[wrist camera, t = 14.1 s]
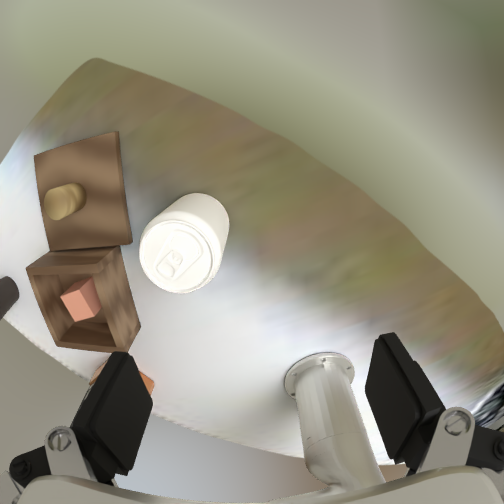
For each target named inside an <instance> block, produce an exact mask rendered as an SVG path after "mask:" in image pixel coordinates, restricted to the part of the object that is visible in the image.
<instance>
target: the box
mask: <svg viewBox="0 0 504 504" xmlns="http://www.w3.org/2000/svg"><path fill="white" fill-rule="evenodd" d="M26 271H27V274H28V277H29V280H30V283H31V286H32V289H33V292H34V294H35V297H36V300H37V302H38V305H39V307H40V310H41V312H42V315H43V317H44V320H45V322H46V324H47V327H48V329H49V331H50V333H51V335H52V338H53V340H54V342H55V344H56V346H58V347H65V348H72V349H79V350H88V351H97V352H107V353H113V352H114V351H121V352H128V350H129V348H130V346H131V345H132V343H133V341H134V339H135V337H136V335H137V333H138V331H139V330H140V328H141V325H140V322H139V318H138V315H137V312H136V308H135V305H134V301H133V298H132V294H131V290H130V287H129V283H128V279H127V275H126V271H125V267H124V263H123V258H122V254H121V249H120V245H116V246H103V247H91V248H79V249H67V250H55V251H49V252H48V253H46V254H45V255H43V256H42V257H41V258H39V259H38V260H36V261H35V262H33V263H32V264H30V265H29V266H28V267H26ZM91 276H92V277H93V280H94V283H95V287H96V290H97V293H98V296H99V299H100V303H101V306H102V308H101V309H100V310H99V311H98V313H97V314H96V315H95V316H94V317H91V318H87V319H84V320H80V321H76V322H75V321H74V319H73V318H72V316H71V314H70V313H69V311H68V309H67V308H66V306H65V304H64V302H63V301H62V299H61V297H60V296H61V295H62V294H63V293H65V292H66V291H67V290H68V289H69V288H70V287H71V286H72V285H73V284H74V283H76V282H79V281H81V280H84V279H86V278H89V277H91Z"/></svg>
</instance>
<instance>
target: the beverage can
mask: <svg viewBox="0 0 504 504" xmlns="http://www.w3.org/2000/svg"><path fill="white" fill-rule="evenodd" d="M228 232H229V218H228V215H227V212H226V210H225V209H224V207H223V206H222V204H221V203H220V202H219V201H217V200H216V199H215V198H213V197H211V196H209V195H206V194H202V193H192V194H188V195H185V196H183V197H181V198H180V199H178V200H177V201H175V202H174V203H173V204H172V205H170V206H169V207H168V208H166V209H165V210H164V211H163V212H161V213H160V214H159V215H157V216H156V217H155V218H154V219H152V220H151V221H150V222H149V223H148V225H147V226H146V227H145V229H144V231H143V233H142V236H141V239H140V245H139V258H140V263H141V266H142V269H143V271H144V272H145V274H146V276H147V277H148V278H149V279H150V280H151V281H152V282H153V283H154V284H155V285H156V286H158V287H159V288H161V289H163V290H166V291H168V292H172V293H189V292H192V291H195V290H197V289H199V288H201V287H203V286H204V285H206V284H207V283H209V282H210V281H211V280H212V279H213V277H214V276H215V275H216V273H217V271H218V269H219V267H220V263H221V260H222V256H223V252H224V248H225V244H226V240H227V236H228Z"/></svg>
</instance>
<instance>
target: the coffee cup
mask: <svg viewBox="0 0 504 504" xmlns="http://www.w3.org/2000/svg"><path fill="white" fill-rule="evenodd" d="M18 298H19V291H18V288H17V286H16V284H15V282H14V281H13V280H12V279H11V278H10V277H8V276H6V277H4V278H2V279H0V320H1V319H2V318H3V316H4V315H5V314H6V313H7V311H8V310H9V309H10V308H11V307H12V305H13V304H14V303H15V302H16V301H17V300H18Z"/></svg>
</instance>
